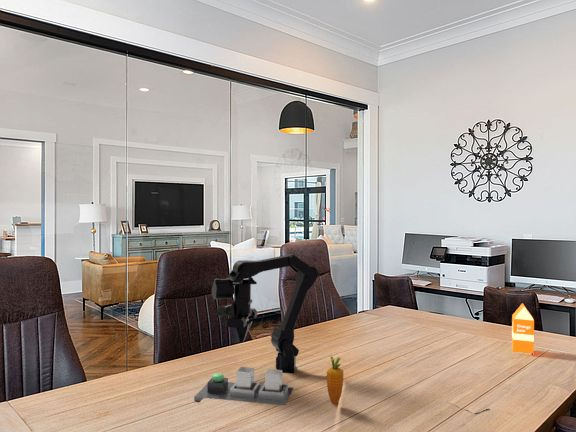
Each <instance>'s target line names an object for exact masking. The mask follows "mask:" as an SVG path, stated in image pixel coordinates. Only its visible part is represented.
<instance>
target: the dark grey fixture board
mask: <svg viewBox="0 0 576 432" xmlns="http://www.w3.org/2000/svg"><path fill="white" fill-rule="evenodd" d="M293 390H294V387H292V386H289V384H283V383H282V392H269V391H265V382H264V383H263V384H261V381H254V388H253V390H246V389H237V380H236V381H235V382H230V381H229V378H228V377H224V380H223V381H221V382H214V381H212V377H211V378H210V379H209V380H207V383H206V384H205V386H203V387H202V389H200V390H199V392H197V393H196V395H194V397H193V401H195V402H201V401H202V400H203V399H211V400H212V399H214V400H222V401H223V400H224V401H226V400H227V401H233V402H234V401H235V402H245V403H247V402H248V403H256V404H257V403H258V404H267V405H277V406H278V405H280V406H286V405H287V402H288V400H289V398H290V396H291V395H292V393H293Z"/></svg>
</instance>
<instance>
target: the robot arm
mask: <svg viewBox="0 0 576 432" xmlns="http://www.w3.org/2000/svg"><path fill="white" fill-rule="evenodd" d="M287 267H289V268H290V269H291V271H293V272H295V277H294V280H295V281H294V283H295V285H294V289H293V292H292V295H291V298H290V300H289V302H288V305H287V308H286V311H285V314H284V317H283V319H282V321H281V324H280V325H279V326H276V325H274V327H273V330H272V334H270V337H271V339H270V343H271V345H272V346H273V347H274V348H275V350H276V352H277V356H276V358H275V370H282V374H295V373H296V370H297V366H296V365H297V364H296V363H297V357H298V355H299V352H300V349H299V348H298V347H297V346H296V345H295V344H294V340H295V327H296V324H297V321H298V318H299V315H300V313H301V310H302V307H303V304H304V302H305V299H306V297H307V293H308V291H309V290H310V289H311V288H312V287H313V286H314V284H315V283H316V281H317V279H318V277H319V271H318V269H317V268H316V267H315V266H312V265H309V264H308V263H306V262H305V261H303V260H302V259H300V258H299V257H297V256H296V255H295V254H291V253H288V254H287V253H286V254H285V255H281V256H276V257H275V256H274V257H270V258H264V259H260V260H249V259H248V260H245V259H243V260H237V261H235V263H234V264H233V266H232V270H231V271H230V272H229V274H228V275H227V276H226V278H214V280H213V283H212V287H211V296H212V298H213V300H222V299H223V300H225V299H231V298H232V297H233V300H232V301H231V304H227V305H224V304H222V305H221V306H218V308H217V310H216V315H217V316H218V317H219V319H223V318H225V317H227V316H230V317H228V318H227V319H226V320H225V328H233V329H235V330H236V332H237V337H238V340H239V343H240V344H241V343H244V341H245V340H246V338H247V334H248V333H249V330H250V328H251V326H252V324H253V321H254V320H252V319H251V320H250V319H249V317H253V319H255V318H257V317H258V311H257V310H256V308H252V307H251V306H252V305H251V304H252V303H253V299H251V298H252V297H251V296H252V295H251V294H252V293H251V291H252V290H251V289H252V285H257V284H258V282H257V281H256V280H254V278H253V277H255V276H257V275H258V274H260V273H263V272H267V271H272V270H276V269H282V268H287Z"/></svg>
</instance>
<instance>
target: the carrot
mask: <svg viewBox="0 0 576 432" xmlns="http://www.w3.org/2000/svg"><path fill="white" fill-rule="evenodd" d="M330 360H331V366H332V367H329V368H328V369H327V371H326V387H327V395H328V397H329V400H330V402H331V404H334V405H337V404H338V403H339V401H340V398H341V396H342V392H343V386H344V370H343V369H342V368H340V366H342V365H341V363H339V362H340V361H341V357H339V356H337V357H336V360H335V358H334V357H333V355H332V356H331V355H330Z"/></svg>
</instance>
